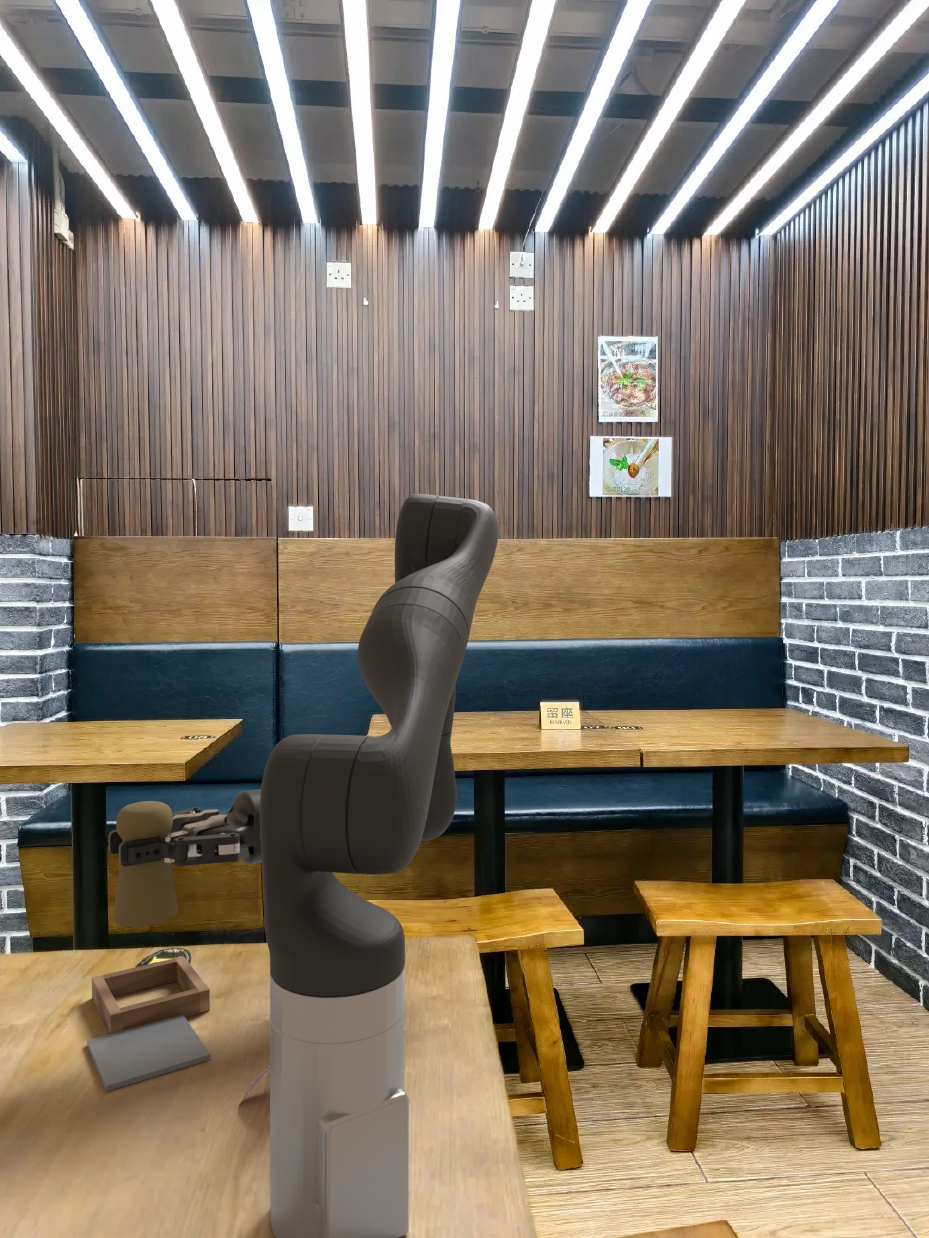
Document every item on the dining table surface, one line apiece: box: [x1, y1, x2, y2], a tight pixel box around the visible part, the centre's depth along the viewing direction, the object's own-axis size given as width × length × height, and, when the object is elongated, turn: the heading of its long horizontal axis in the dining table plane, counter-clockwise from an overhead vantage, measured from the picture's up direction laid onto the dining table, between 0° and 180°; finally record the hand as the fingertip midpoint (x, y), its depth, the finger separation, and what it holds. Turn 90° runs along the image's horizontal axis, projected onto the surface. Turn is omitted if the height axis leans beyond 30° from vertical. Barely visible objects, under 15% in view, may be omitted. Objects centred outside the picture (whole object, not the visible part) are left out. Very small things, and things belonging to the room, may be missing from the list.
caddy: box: [91, 955, 211, 1034], centre depth 87 cm, size 10×10×2 cm
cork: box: [112, 800, 179, 928], centre depth 81 cm, size 6×6×11 cm
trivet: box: [86, 1014, 211, 1092], centre depth 78 cm, size 9×9×1 cm
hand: (115, 848), depth 80 cm, fingers closed on cork, 4 cm apart
